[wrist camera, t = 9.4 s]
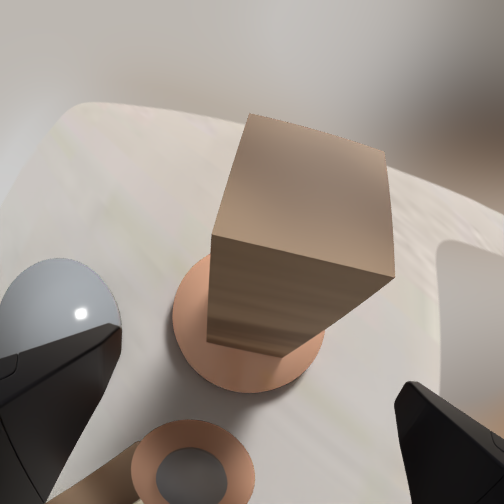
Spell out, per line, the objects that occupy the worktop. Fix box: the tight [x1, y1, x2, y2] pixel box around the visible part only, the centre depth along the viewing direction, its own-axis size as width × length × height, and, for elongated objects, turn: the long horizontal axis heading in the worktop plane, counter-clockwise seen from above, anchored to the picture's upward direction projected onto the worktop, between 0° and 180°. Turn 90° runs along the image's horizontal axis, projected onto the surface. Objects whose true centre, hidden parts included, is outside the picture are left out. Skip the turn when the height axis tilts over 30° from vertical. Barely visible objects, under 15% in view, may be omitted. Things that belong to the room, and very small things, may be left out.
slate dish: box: [0, 258, 122, 358], centre depth 18 cm, size 10×10×1 cm
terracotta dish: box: [172, 254, 325, 393], centre depth 21 cm, size 10×10×1 cm
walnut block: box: [206, 114, 395, 358], centre depth 15 cm, size 5×5×13 cm
